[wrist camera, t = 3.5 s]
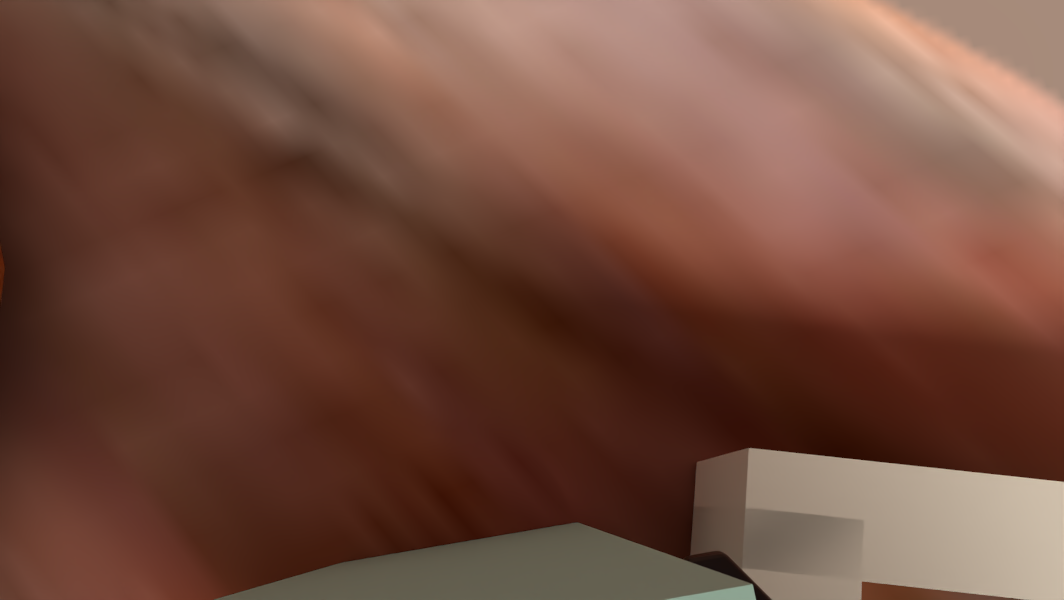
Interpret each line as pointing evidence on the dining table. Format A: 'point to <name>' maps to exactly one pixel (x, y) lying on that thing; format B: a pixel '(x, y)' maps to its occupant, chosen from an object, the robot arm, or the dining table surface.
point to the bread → (1, 272)
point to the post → (514, 572)
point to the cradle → (878, 526)
